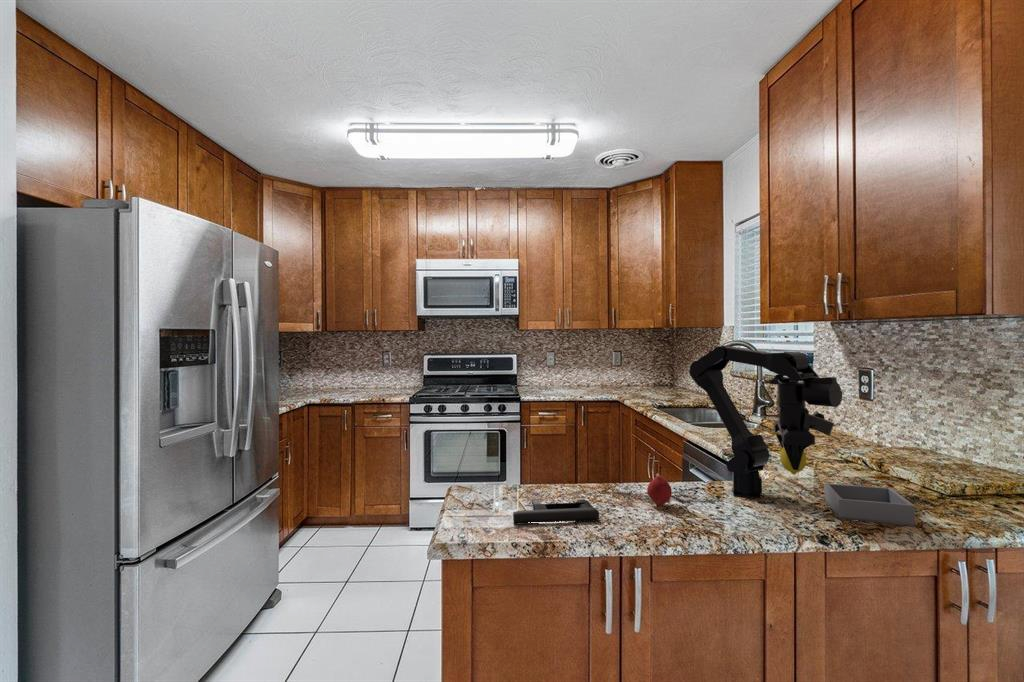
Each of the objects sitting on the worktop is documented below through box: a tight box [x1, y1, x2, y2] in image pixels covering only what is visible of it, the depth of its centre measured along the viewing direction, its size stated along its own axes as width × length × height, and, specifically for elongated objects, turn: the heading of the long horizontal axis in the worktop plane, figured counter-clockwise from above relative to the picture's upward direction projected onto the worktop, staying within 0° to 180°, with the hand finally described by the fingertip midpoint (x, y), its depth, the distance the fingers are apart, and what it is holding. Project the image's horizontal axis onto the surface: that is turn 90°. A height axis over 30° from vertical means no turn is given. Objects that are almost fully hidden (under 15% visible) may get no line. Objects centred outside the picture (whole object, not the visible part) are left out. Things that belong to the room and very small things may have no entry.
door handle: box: [512, 498, 600, 524], centre depth 119 cm, size 3×20×16 cm
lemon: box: [779, 447, 807, 475], centre depth 120 cm, size 6×6×8 cm
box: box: [823, 482, 916, 527], centre depth 116 cm, size 14×14×4 cm
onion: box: [646, 473, 673, 507], centre depth 123 cm, size 6×6×8 cm
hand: (793, 467), depth 120 cm, fingers closed on lemon, 5 cm apart
